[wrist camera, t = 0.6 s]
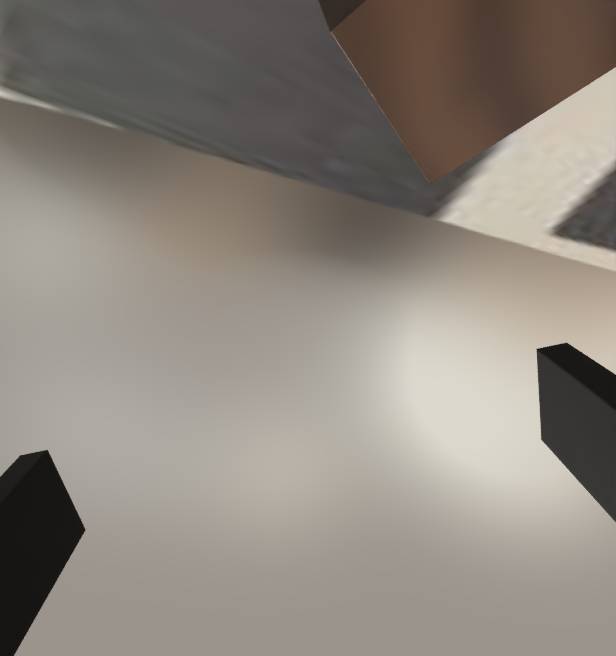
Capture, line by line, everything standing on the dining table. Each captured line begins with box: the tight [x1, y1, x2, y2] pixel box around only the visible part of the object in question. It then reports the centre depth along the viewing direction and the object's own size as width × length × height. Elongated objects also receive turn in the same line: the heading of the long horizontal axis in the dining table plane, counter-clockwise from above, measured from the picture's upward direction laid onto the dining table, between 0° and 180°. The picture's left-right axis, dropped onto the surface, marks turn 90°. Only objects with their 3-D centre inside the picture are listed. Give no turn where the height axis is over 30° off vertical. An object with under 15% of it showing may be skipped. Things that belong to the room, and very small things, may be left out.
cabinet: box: [318, 0, 616, 184], centre depth 32 cm, size 17×15×9 cm
